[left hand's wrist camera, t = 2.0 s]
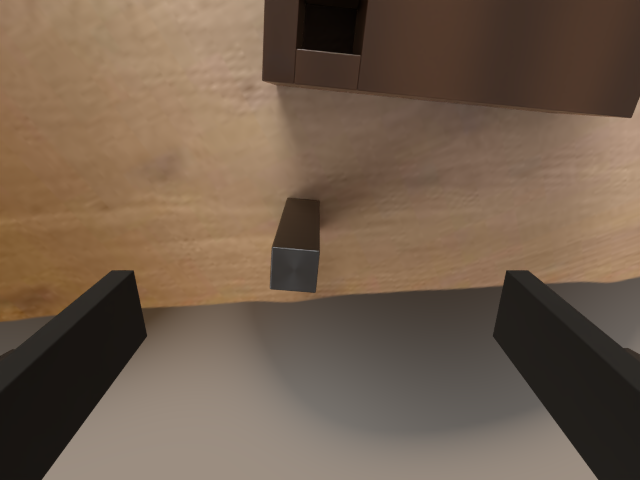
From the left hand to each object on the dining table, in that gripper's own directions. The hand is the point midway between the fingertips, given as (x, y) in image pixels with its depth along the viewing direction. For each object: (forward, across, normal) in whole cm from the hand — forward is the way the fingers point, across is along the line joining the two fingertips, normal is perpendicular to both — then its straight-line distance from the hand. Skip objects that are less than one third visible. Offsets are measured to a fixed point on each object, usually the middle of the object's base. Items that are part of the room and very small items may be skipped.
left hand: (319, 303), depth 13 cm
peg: (+21, -2, -3) cm, 22 cm away
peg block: (+21, +9, +11) cm, 26 cm away
